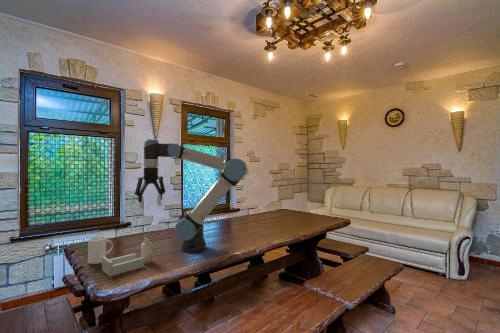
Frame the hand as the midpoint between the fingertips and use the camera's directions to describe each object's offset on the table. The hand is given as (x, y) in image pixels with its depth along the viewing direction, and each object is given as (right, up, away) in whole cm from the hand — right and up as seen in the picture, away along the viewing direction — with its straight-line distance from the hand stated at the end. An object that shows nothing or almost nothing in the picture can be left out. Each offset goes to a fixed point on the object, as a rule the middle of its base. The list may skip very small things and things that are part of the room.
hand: (150, 206), depth 149 cm
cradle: (-7, -28, -18) cm, 34 cm away
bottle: (+1, -28, -9) cm, 29 cm away
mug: (-24, -28, -8) cm, 37 cm away
